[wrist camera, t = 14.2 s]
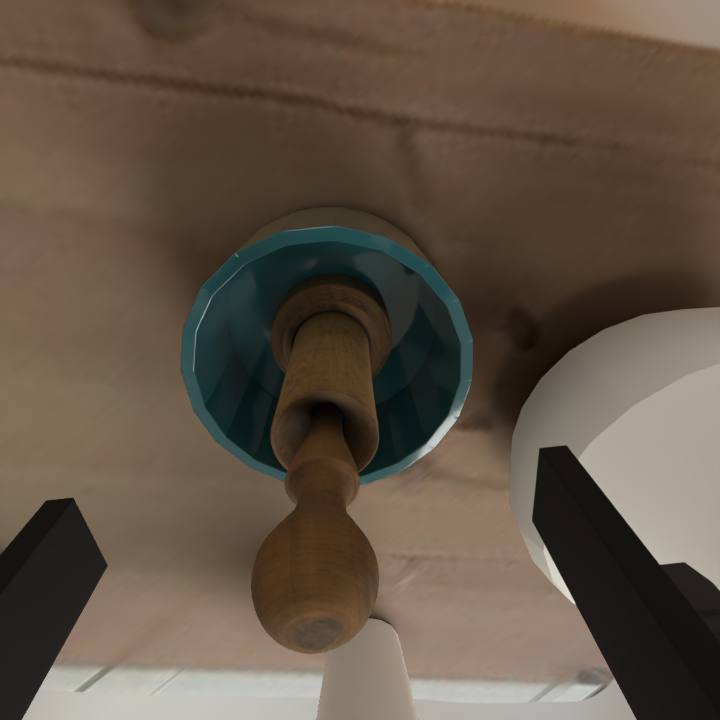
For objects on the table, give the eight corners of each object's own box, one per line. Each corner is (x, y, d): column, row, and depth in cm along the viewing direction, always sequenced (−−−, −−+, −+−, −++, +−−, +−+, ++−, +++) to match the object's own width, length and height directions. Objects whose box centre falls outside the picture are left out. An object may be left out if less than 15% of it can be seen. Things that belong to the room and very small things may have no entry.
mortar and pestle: (358, 251, 24) (392, 472, 7) (406, 348, 26) (509, 668, 10) (254, 304, 25) (82, 598, 8) (310, 392, 27) (261, 746, 11)
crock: (247, 423, 29) (220, 499, 23) (195, 219, 23) (141, 245, 17) (443, 404, 29) (471, 474, 23) (440, 194, 23) (476, 209, 17)
